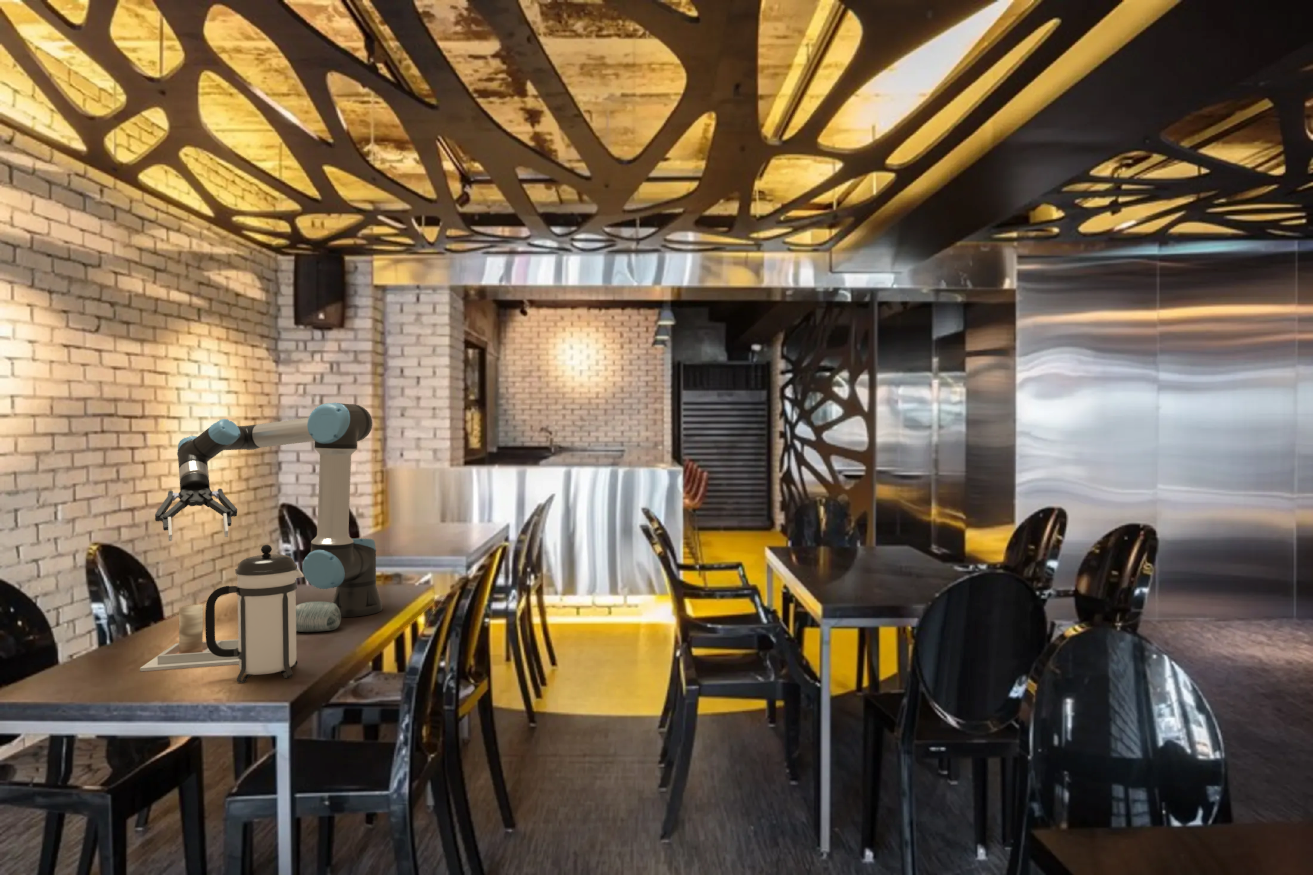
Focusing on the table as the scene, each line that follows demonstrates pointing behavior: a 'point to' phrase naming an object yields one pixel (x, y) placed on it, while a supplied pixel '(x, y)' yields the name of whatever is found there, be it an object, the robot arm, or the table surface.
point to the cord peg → (191, 629)
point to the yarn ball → (317, 616)
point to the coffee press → (261, 615)
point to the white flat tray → (191, 658)
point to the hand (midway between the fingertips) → (198, 536)
